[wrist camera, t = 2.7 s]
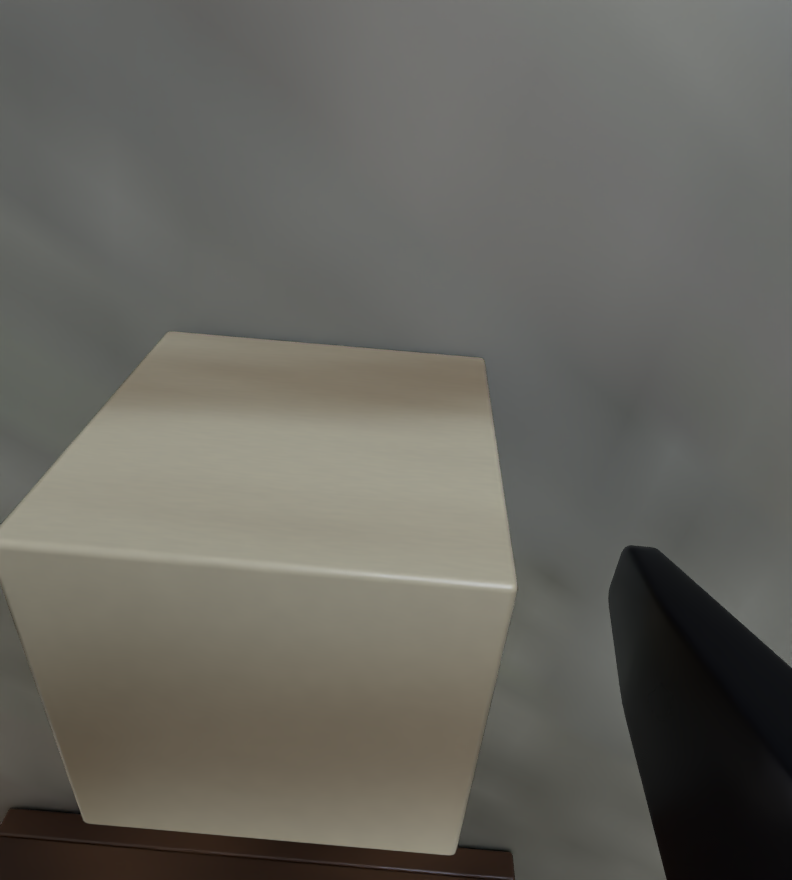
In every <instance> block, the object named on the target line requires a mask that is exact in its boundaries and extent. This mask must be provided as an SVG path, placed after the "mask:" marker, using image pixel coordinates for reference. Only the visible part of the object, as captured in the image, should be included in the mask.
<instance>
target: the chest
mask: <svg viewBox="0 0 792 880" xmlns="http://www.w3.org/2000/svg"><path fill="white" fill-rule="evenodd" d="M0 880H515V874H514V863H513V855H512V853H510V852H503V851H492V850H480V849H469V848H458V847H457V850H456V852H455V854H454V855H438V854H427V853H416V852H404V851H393V850H382V849H370V848H359V847H348V846H336V845H325V844H314V843H302V842H291V841H280V840H268V839H257V838H246V837H234V836H223V835H212V834H200V833H189V832H178V831H166V830H155V829H144V828H132V827H121V826H110V825H98V824H88V823H86V822H85V821H83V818H82V815H81V814H72V813H61V812H50V811H38V810H27V809H16V808H11V809H9V810H8V812H7V814H6V816H5V818H4V819H3V821H2V823H1V825H0Z"/></svg>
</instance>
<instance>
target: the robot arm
mask: <svg viewBox="0 0 792 880" xmlns="http://www.w3.org/2000/svg"><path fill="white" fill-rule="evenodd" d="M608 599H609V610H610V618H611V625H612V633H613V640H614V647H615V655H616V662H617V670H618V677H619V685H620V691H621V698H622V704H623V708H624V713H625V717H626V722H627V726H628V729H629V733H630V737H631V741H632V745H633V749H634V753H635V757H636V761H637V765H638V769H639V773H640V777H641V781H642V784H643V788H644V792H645V796H646V800H647V804H648V808H649V812H650V816H651V820H652V824H653V828H654V832H655V835H656V839H657V843H658V847H659V851H660V855H661V859H662V863H663V867H664V871H665V875H666V879H667V880H792V668H791V667H790V666H789V665H788V664H787V663H785V662H784V661H783V660H782V659H781V658H780V657H779V656H778V655H776V654H775V653H774V652H773V651H772V650H771V649H770V648H769V647H767V646H766V645H765V644H764V643H763V642H762V641H761V640H760V639H758V638H757V637H756V636H755V635H754V634H753V633H752V632H751V631H749V630H748V629H747V628H746V627H745V626H744V625H743V624H741V623H740V622H739V621H738V620H737V619H736V618H735V617H734V616H732V615H731V614H730V613H729V612H728V611H727V610H726V609H725V608H723V607H722V606H721V605H720V604H719V603H718V602H717V601H716V600H714V599H713V598H712V597H711V596H710V595H709V594H708V593H707V592H705V591H704V590H703V589H702V588H701V587H700V586H699V585H698V584H696V583H695V582H694V581H693V580H692V579H691V578H690V577H689V576H687V575H686V574H685V573H684V572H683V571H682V570H681V569H680V568H678V567H677V566H676V565H675V564H674V563H673V562H672V561H671V560H669V559H668V558H667V557H666V556H665V555H664V554H663V553H661V552H660V551H659V550H658V549H656V548H653V547H644V546H633V545H630V546H627V547H625V548H624V550H623V551H622V553H621V556H620V559H619V562H618V564H617V567H616V570H615V573H614V576H613V579H612V582H611V585H610V589H609V597H608Z"/></svg>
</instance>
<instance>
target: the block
mask: <svg viewBox="0 0 792 880" xmlns="http://www.w3.org/2000/svg"><path fill="white" fill-rule="evenodd" d="M0 584H1V587H2V590H3V593H4V596H5V598H6V601H7V604H8V607H9V610H10V613H11V616H12V618H13V621H14V624H15V627H16V630H17V633H18V635H19V638H20V641H21V644H22V647H23V650H24V653H25V655H26V658H27V661H28V664H29V667H30V670H31V673H32V675H33V678H34V681H35V684H36V687H37V690H38V693H39V695H40V698H41V701H42V704H43V707H44V710H45V713H46V715H47V718H48V721H49V724H50V727H51V730H52V732H53V735H54V738H55V741H56V744H57V747H58V750H59V752H60V755H61V758H62V761H63V764H64V767H65V770H66V772H67V775H68V778H69V781H70V784H71V787H72V790H73V792H74V795H75V798H76V801H77V804H78V807H79V810H80V812H81V815H82V818H83V821H85V822H86V823H88V824H98V825H110V826H121V827H132V828H144V829H155V830H166V831H178V832H189V833H200V834H212V835H223V836H234V837H246V838H257V839H268V840H280V841H291V842H302V843H314V844H325V845H336V846H348V847H359V848H370V849H382V850H393V851H404V852H416V853H427V854H438V855H454V854H455V852H456V850H457V846H458V842H459V838H460V833H461V829H462V825H463V821H464V816H465V812H466V808H467V804H468V799H469V795H470V791H471V787H472V782H473V778H474V774H475V770H476V765H477V761H478V757H479V753H480V748H481V744H482V740H483V736H484V731H485V727H486V723H487V719H488V714H489V710H490V706H491V702H492V697H493V693H494V689H495V685H496V681H497V676H498V672H499V668H500V664H501V659H502V655H503V651H504V647H505V642H506V638H507V634H508V630H509V625H510V621H511V617H512V613H513V608H514V604H515V600H516V596H517V591H518V583H517V577H516V570H515V563H514V556H513V550H512V543H511V536H510V529H509V522H508V516H507V509H506V502H505V495H504V489H503V482H502V475H501V468H500V461H499V455H498V448H497V441H496V434H495V428H494V421H493V414H492V407H491V400H490V394H489V387H488V380H487V373H486V367H485V362H484V359H482V358H479V357H467V356H455V355H443V354H431V353H420V352H408V351H396V350H384V349H373V348H361V347H349V346H337V345H326V344H314V343H302V342H290V341H279V340H267V339H255V338H243V337H232V336H220V335H208V334H196V333H185V332H173V331H170V332H167V333H166V334H165V335H164V336H163V337H162V338H161V340H160V341H159V342H158V343H157V344H156V345H155V347H154V348H153V349H152V350H151V351H150V352H149V354H148V355H147V356H146V357H145V358H144V359H143V360H142V362H141V363H140V364H139V365H138V366H137V367H136V369H135V370H134V371H133V372H132V373H131V374H130V376H129V377H128V378H127V379H126V380H125V381H124V382H123V384H122V385H121V386H120V387H119V388H118V389H117V391H116V392H115V393H114V394H113V395H112V396H111V398H110V399H109V400H108V401H107V402H106V403H105V405H104V406H103V407H102V408H101V409H100V410H99V411H98V413H97V414H96V415H95V416H94V417H93V418H92V420H91V421H90V422H89V423H88V424H87V425H86V427H85V428H84V429H83V430H82V431H81V432H80V433H79V435H78V436H77V437H76V438H75V439H74V440H73V442H72V443H71V444H70V445H69V446H68V447H67V449H66V450H65V451H64V452H63V453H62V454H61V456H60V457H59V458H58V459H57V460H56V461H55V462H54V464H53V465H52V466H51V467H50V468H49V469H48V471H47V472H46V473H45V474H44V475H43V476H42V478H41V479H40V480H39V481H38V482H37V483H36V484H35V486H34V487H33V488H32V489H31V490H30V491H29V493H28V494H27V495H26V496H25V497H24V498H23V500H22V501H21V502H20V503H19V504H18V505H17V507H16V508H15V509H14V510H13V511H12V512H11V513H10V515H9V516H8V517H7V518H6V519H5V520H4V522H3V523H2V524H1V525H0Z"/></svg>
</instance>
